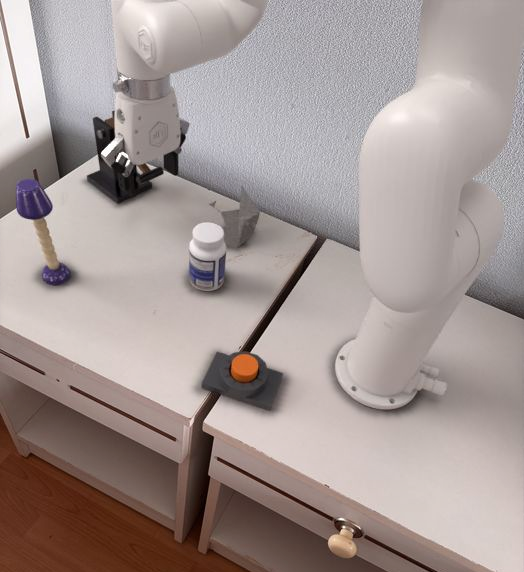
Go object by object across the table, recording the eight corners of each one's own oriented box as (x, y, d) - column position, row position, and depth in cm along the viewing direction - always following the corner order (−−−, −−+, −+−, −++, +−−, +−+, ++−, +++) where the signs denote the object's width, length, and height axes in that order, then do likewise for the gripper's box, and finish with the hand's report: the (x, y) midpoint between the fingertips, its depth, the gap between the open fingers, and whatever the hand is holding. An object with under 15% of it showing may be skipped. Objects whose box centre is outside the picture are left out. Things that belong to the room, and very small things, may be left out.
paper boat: (236, 257, 86) (189, 227, 86) (235, 264, 93) (191, 237, 92) (273, 198, 87) (227, 168, 87) (269, 209, 94) (226, 182, 93)
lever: (161, 177, 91) (165, 169, 89) (139, 188, 88) (142, 179, 86) (119, 123, 90) (121, 113, 88) (95, 132, 88) (97, 122, 86)
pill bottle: (210, 263, 86) (213, 215, 79) (231, 284, 84) (235, 236, 76) (181, 276, 84) (181, 227, 76) (201, 297, 81) (203, 249, 74)
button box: (282, 376, 74) (285, 363, 71) (269, 412, 70) (272, 400, 67) (217, 354, 75) (218, 342, 72) (200, 389, 71) (201, 377, 68)
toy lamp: (51, 291, 78) (24, 199, 65) (31, 276, 80) (1, 183, 67) (76, 275, 81) (55, 184, 68) (56, 261, 82) (32, 169, 69)
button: (260, 366, 71) (261, 358, 70) (252, 386, 69) (253, 379, 68) (235, 358, 72) (236, 350, 70) (227, 378, 69) (228, 370, 68)
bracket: (152, 188, 97) (148, 123, 87) (118, 204, 93) (110, 138, 83) (121, 166, 100) (115, 101, 90) (87, 181, 96) (76, 114, 86)
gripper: (112, 109, 70) (123, 212, 84) (204, 77, 79) (201, 174, 93) (79, 86, 73) (94, 189, 86) (171, 57, 82) (172, 155, 95)
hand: (149, 181), depth 89 cm, fingers open, 9 cm apart
